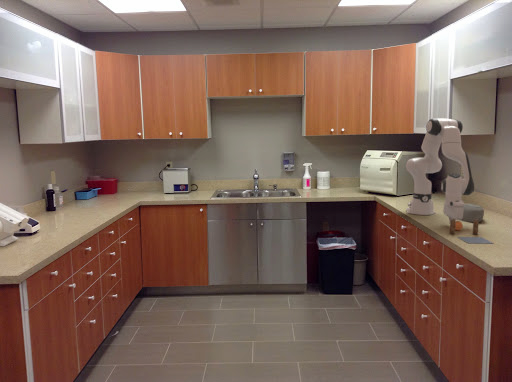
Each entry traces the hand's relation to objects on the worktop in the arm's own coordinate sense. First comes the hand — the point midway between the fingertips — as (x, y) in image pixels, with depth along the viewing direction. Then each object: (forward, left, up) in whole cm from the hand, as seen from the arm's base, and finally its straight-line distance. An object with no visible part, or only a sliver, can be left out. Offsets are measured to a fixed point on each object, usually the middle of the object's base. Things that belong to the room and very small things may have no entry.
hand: (451, 224), depth 262 cm
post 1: (+17, -6, -2) cm, 18 cm away
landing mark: (+31, 0, -2) cm, 31 cm away
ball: (+7, 0, +1) cm, 7 cm away
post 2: (+17, +6, -2) cm, 18 cm away
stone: (-27, +21, -2) cm, 34 cm away
